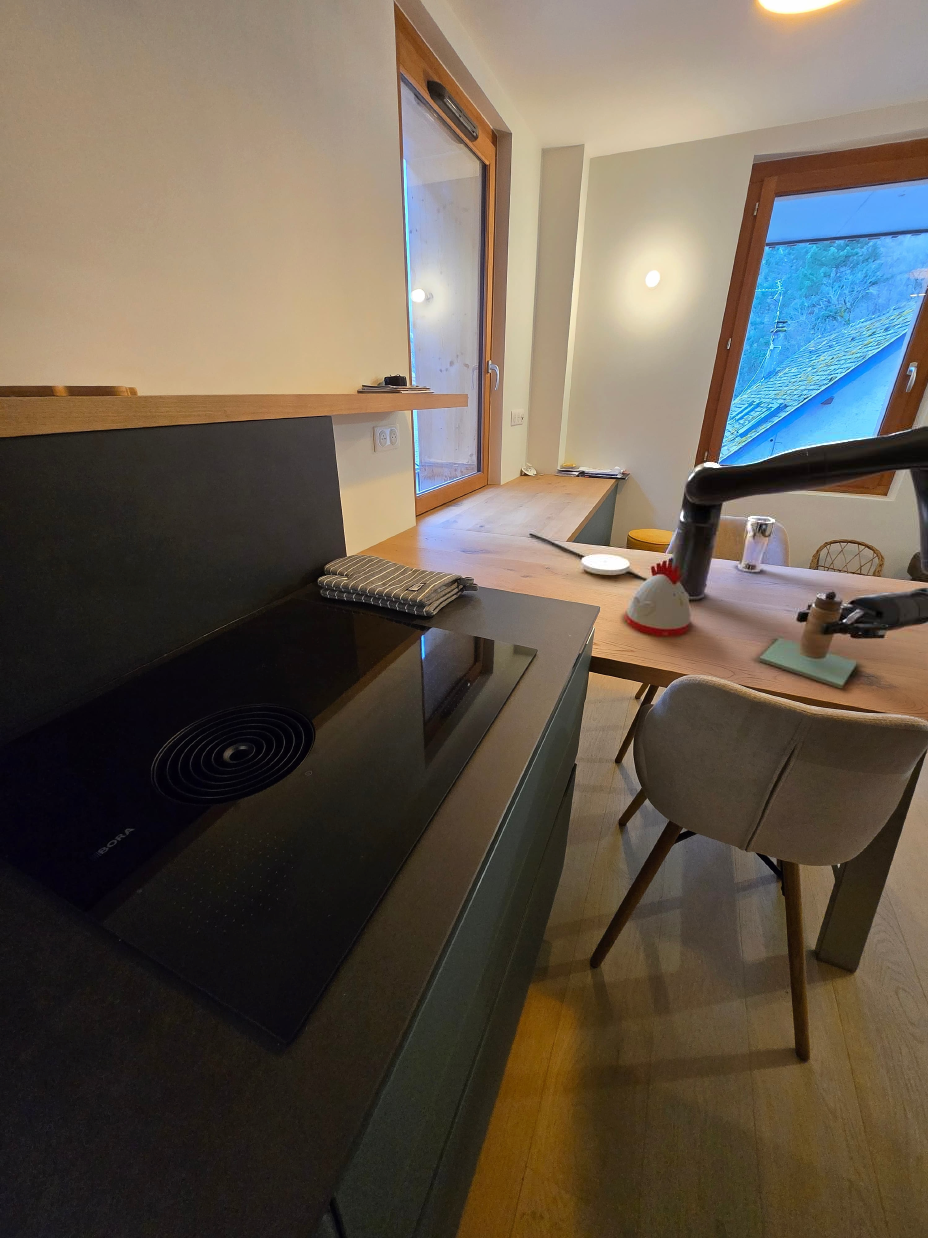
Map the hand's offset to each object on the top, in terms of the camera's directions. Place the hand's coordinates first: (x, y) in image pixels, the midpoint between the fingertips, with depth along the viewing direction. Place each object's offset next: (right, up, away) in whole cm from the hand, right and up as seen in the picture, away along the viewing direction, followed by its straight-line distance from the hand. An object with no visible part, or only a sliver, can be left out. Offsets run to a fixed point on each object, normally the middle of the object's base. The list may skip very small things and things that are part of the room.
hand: (810, 623), depth 94 cm
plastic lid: (-24, +15, +54) cm, 61 cm away
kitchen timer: (-21, 0, +22) cm, 30 cm away
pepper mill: (+3, -6, +4) cm, 7 cm away
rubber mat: (+3, -8, +5) cm, 10 cm away
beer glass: (+19, +16, +53) cm, 59 cm away
